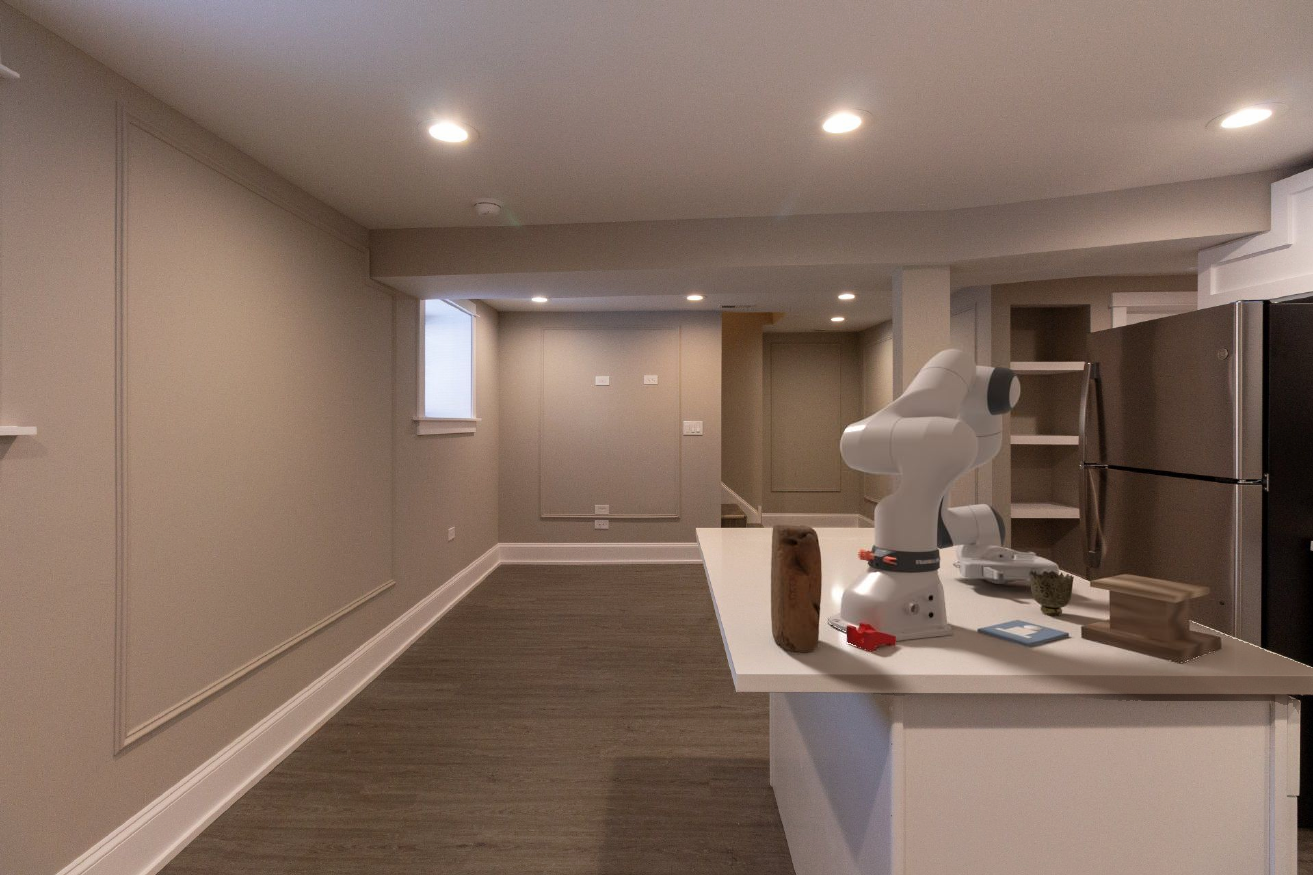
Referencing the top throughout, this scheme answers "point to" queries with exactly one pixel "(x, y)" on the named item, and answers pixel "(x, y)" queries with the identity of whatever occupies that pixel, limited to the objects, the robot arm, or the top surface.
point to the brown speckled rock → (795, 587)
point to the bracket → (868, 637)
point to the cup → (1051, 591)
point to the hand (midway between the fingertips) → (1023, 576)
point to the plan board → (1023, 633)
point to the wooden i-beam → (1151, 618)
